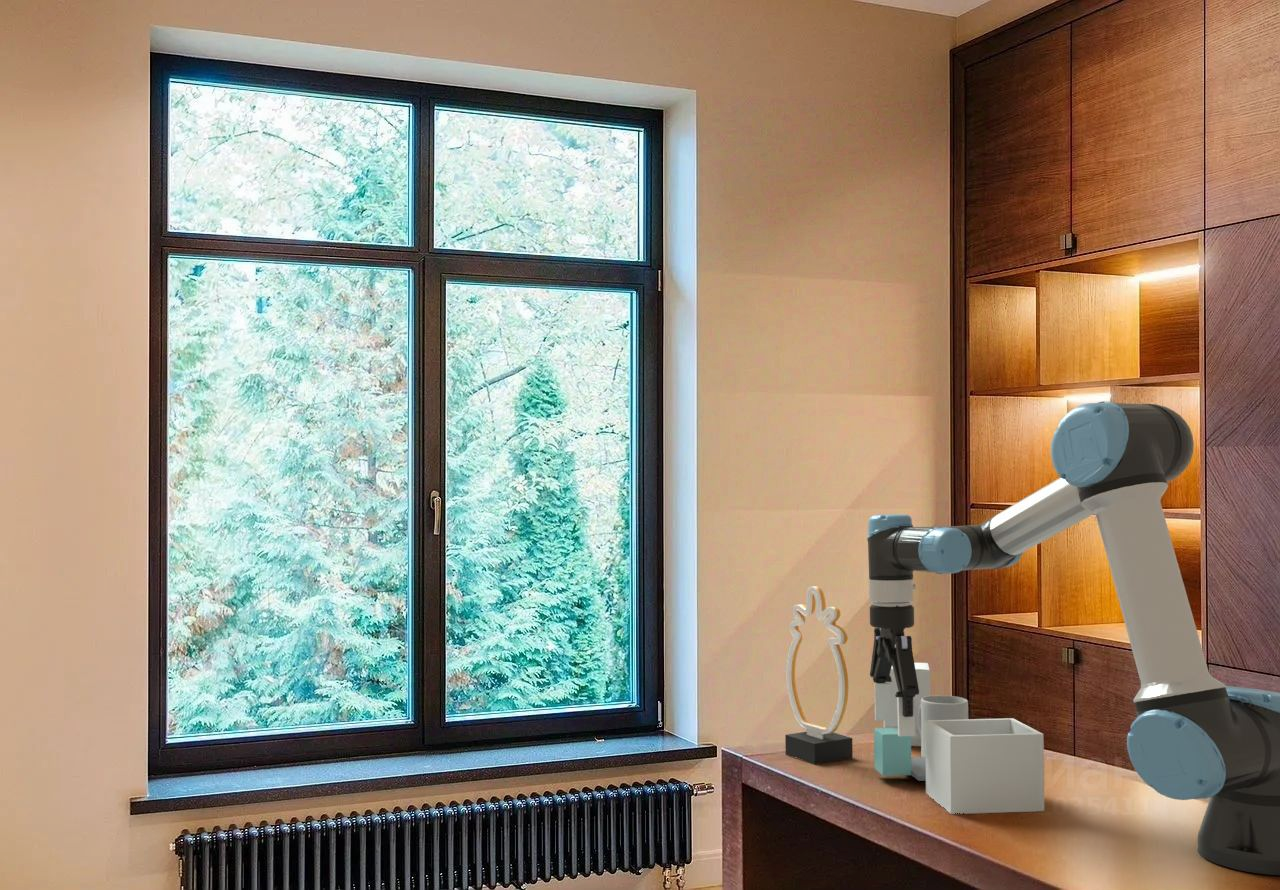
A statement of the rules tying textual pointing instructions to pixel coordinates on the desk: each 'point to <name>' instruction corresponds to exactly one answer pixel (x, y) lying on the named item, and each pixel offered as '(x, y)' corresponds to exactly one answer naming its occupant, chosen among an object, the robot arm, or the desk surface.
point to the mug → (940, 712)
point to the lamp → (821, 740)
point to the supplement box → (924, 691)
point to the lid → (896, 755)
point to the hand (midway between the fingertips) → (894, 728)
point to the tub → (984, 765)
